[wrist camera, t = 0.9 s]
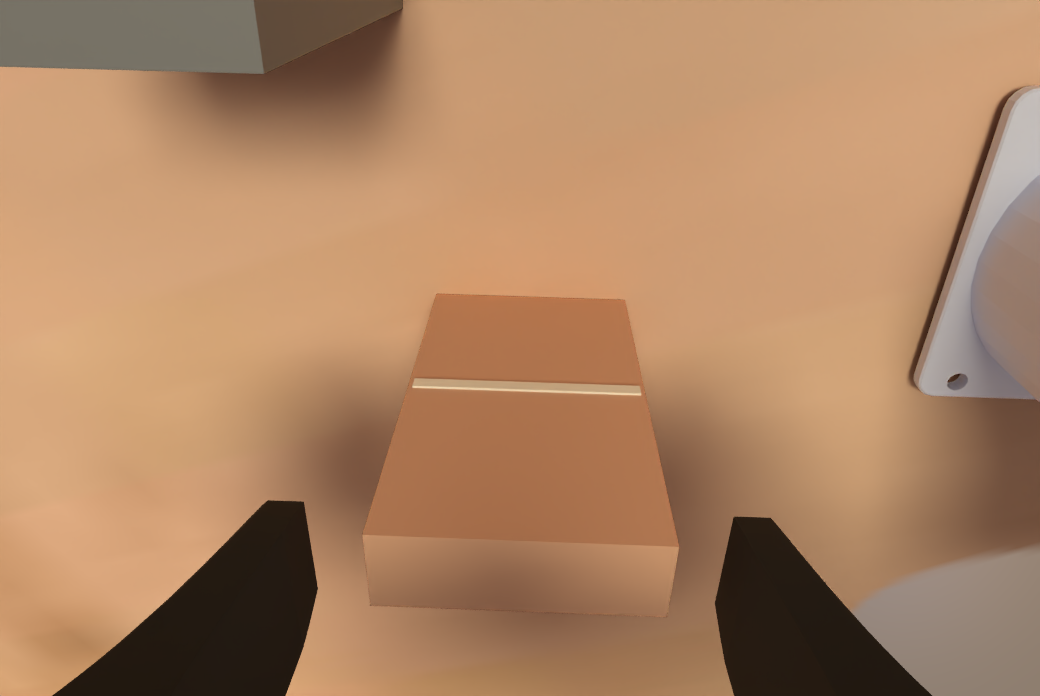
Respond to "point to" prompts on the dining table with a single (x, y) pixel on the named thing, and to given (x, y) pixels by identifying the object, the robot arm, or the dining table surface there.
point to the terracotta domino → (523, 467)
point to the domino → (176, 32)
